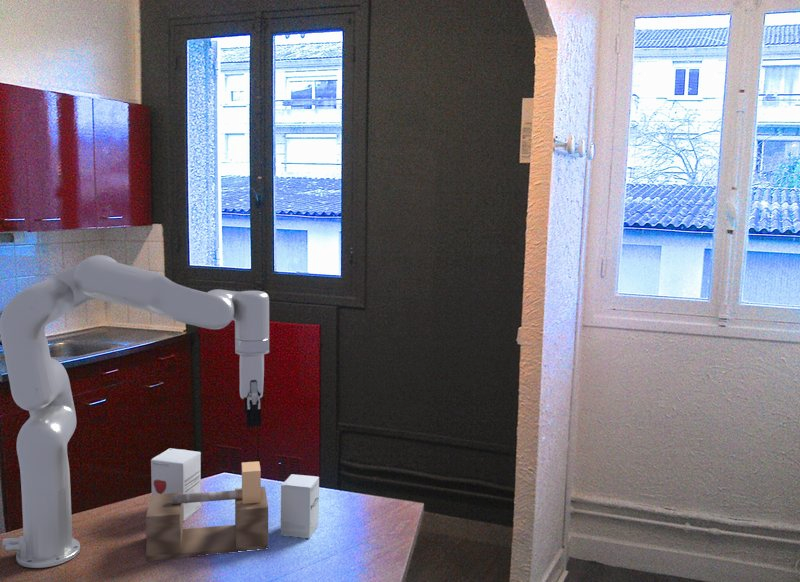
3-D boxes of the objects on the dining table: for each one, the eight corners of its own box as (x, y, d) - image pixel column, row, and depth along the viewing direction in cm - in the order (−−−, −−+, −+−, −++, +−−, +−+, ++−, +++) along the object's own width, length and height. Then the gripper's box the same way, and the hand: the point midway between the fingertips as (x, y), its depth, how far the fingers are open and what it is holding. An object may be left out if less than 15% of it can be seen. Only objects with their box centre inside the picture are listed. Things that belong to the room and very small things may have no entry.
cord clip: (242, 503, 165) (242, 472, 164) (241, 493, 171) (241, 462, 170) (260, 502, 166) (260, 470, 165) (259, 492, 172) (259, 461, 171)
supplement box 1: (150, 517, 180) (149, 459, 178) (170, 503, 188) (169, 447, 186) (183, 522, 178) (182, 463, 176) (202, 507, 186) (201, 450, 184)
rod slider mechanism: (146, 560, 159) (145, 508, 157) (151, 535, 170) (150, 486, 169) (268, 549, 165) (268, 498, 163) (264, 526, 177) (264, 478, 175)
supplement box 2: (309, 539, 170) (310, 487, 169) (279, 536, 172) (279, 484, 170) (319, 525, 178) (320, 476, 176) (290, 522, 179) (290, 473, 177)
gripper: (234, 338, 172) (234, 409, 174) (236, 354, 155) (236, 432, 157) (266, 338, 174) (266, 408, 176) (272, 353, 157) (272, 430, 159)
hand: (252, 419), depth 166 cm, fingers open, 9 cm apart
